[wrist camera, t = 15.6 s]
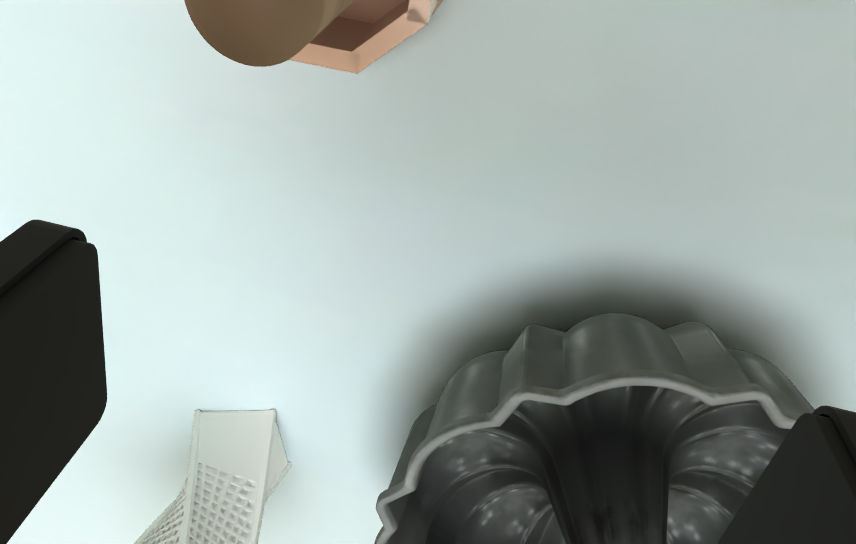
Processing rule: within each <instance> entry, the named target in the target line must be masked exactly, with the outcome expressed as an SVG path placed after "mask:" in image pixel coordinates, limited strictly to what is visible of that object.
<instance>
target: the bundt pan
mask: <svg viewBox="0 0 856 544" xmlns="http://www.w3.org/2000/svg"><path fill="white" fill-rule="evenodd" d="M814 411H815V409H814V408H813V407H812V406H811V405H810V404H809V402H808V401H807V400H806V399H805V398H804V397H803V395H802V394H801V393H800V392H799V391H798V389H797V388H796V387H795V386H794V385H793V384H792V382H791V381H790V380H789V379H788V378H787V377H786V376H785V375H784V374H783V373H782V372H781V371H780V370H779V369H777V368H776V367H775V366H774V365H772V364H771V363H769V362H767V361H766V360H764V359H762V358H761V357H759V356H756V355H754V354H751V353H748V352H745V351H742V350H736V349H729V348H726V347H725V346H724V344H723V343H722V341H721V340H720V338H719V337H718V336H717V334H716V333H715V332H714V331H713V330H712V329H711V328H710V327H708V326H707V325H705V324H703V323H700V322H693V321H689V322H685V323H681V324H678V325H675V326H672V327H669V328H666V329H663V330H662V329H661V328H660V327H658V326H656V325H655V324H653V323H651V322H649V321H647V320H645V319H643V318H640V317H637V316H633V315H629V314H623V313H607V314H601V315H596V316H592V317H589V318H587V319H585V320H583V321H581V322H579V323H577V324H576V325H574V326H573V327H572V328H570V329H569V330H568V331H567V332H562V331H558V330H555V329H551V328H547V327H544V326H540V325H536V324H530V325H528V326H526V327H525V329H524V330H523V332H522V333H521V334H520V336H519V337H518V339H517V340H516V341H515V343H514V344H513V346H512V347H511V348H510V350H509V351H506V350H503V351H493V352H489V353H484V354H482V355H480V356H477V357H475V358H473V359H471V360H470V361H468V362H467V363H465V364H464V365H463V366H462V367H460V368H459V369H458V370H457V371H456V372H455V373H454V374H453V376H452V377H451V378H450V380H449V381H448V383H447V384H446V386H445V388H444V389H443V392H442V394H441V396H440V399H439V402H438V404H435V405H433V406H431V407H430V408H428V409H427V410H425V411H424V412H423V413H422V414H421V415H420V416H419V417H418V418H417V420H416V421H415V422H414V424H413V426H412V428H411V430H410V433H409V436H408V439H407V441H406V444H405V446H404V449H403V452H402V454H401V457H400V459H399V462H398V465H397V467H396V470H395V472H394V475H393V478H392V480H391V483H390V486H389V488H388V489H387V490H385V491H383V492H382V493H381V494H380V495H379V497H378V499H377V504H376V511H377V513H378V515H379V517H380V519H381V521H382V523H383V527H382V529H381V530H380V532H379V533H378V535H377V537H376V540H375V544H718V542H719V540H720V538H721V537H722V535H723V534H724V532H725V531H726V529H727V527H728V526H729V524H730V523H731V521H732V520H733V518H734V517H735V515H736V513H737V512H738V510H739V509H740V507H741V506H742V504H743V503H744V501H745V499H746V498H747V496H748V495H749V493H750V492H751V490H752V489H753V487H754V486H755V484H756V482H757V481H758V479H759V478H760V476H761V475H762V473H763V472H764V470H765V468H766V467H767V465H768V464H769V462H770V461H771V459H772V458H773V456H774V455H775V453H776V451H777V450H778V448H779V447H780V445H781V444H782V442H783V441H784V439H785V437H786V436H787V434H788V433H789V431H790V430H791V428H792V427H793V425H794V424H795V422H796V420H797V419H798V418H799V417H800V416H801V415H803V414H804V413H811V414H812V413H813V412H814Z"/></svg>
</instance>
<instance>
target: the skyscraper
mask: <svg viewBox="0 0 856 544" xmlns="http://www.w3.org/2000/svg"><path fill="white" fill-rule="evenodd" d="M275 419H276V410H274V409H273V410H255V411H211V412H201V411H200V409H199V410H196V411H195V413H194V423H193V434H192V443H191V453H190V463H189V472H188V477H187V479H186V481H185V484H184V486H183V488H182V490H181V492H180V494H179V495H178V497H177V499H176V500H175V501H174V502H173V503H172V504H171V505H170V506H169V507H168V508H167V509H166V510H165V511H164V512H163V513H162V514H161V515H160V516H159V517H158V518H157V519H156V520H155V521H154V522H153V523H152V524H151V525H150V526H149V527H148V528H147V529H146V530H145V532H144V533H143V534H142V535H141V536H140V537H139V538H138V539H137V541H136V542H135V543H134V544H258V539H259V534H260V529H261V523H262V517H263V510H264V504H265V502H266V500H267V499H268V497H269V496H270V495H271V493H272V492H273V491H274V489H275V488H276V486H277V485H278V484H279V482H280V481H281V480H282V478H283V477H284V476H285V474H286V473H287V471H288V470H289V469H290V467H291V462H288V460H287V457H286V454H285V450H284V447H283V443H282V440H281V437H280V433H279V430H278V426H277V423H276V420H275Z"/></svg>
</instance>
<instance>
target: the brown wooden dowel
mask: <svg viewBox="0 0 856 544" xmlns="http://www.w3.org/2000/svg"><path fill="white" fill-rule="evenodd" d="M353 1H354V0H185V4H186V7H187V10H188V13H189V15H190V17H191V20H192V21H193V23H194V25H195V27H196V28H197V30H198V31H199V33H200V34H201V35H202V37H203V38H204V39H205V40H206V41H207V42H208V43H209V44H210V45H211V46H212V47H213V48H214V49H215V50H217V51H218V52H219V53H221V54H222V55H224V56H226V57H227V58H229V59H231V60H233V61H236V62H238V63H242V64H245V65H250V66H272V65H276V64H280V63H282V62H285V61H287V60H289V59H290V58H292V57H293V56H295V55H296V54H297V53H299V52H300V51H301V50H302V49H303V48H304V47H305V46H306V45H307V44H308V43H309V42H310V41H312V40H313V39H314V38H315V37H316V36H317V35H318V34H319V33H320V32H321V31H322V30H323V29H324V28H325V27H326V26H328V25H329V24H330V23H331V22H332V21H333V20H334V19H335V18H336V17H337V16H338V15H339V14H340V13H341V12H342V11H344V10H345V9H346V8H347V7H348V6H349V5H350V4H351V3H352V2H353Z"/></svg>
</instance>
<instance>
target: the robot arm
mask: <svg viewBox="0 0 856 544" xmlns="http://www.w3.org/2000/svg"><path fill="white" fill-rule="evenodd" d="M106 402H107V386H106V371H105V356H104V341H103V326H102V312H101V297H100V282H99V267H98V254H97V249H96V248H95V246H94V245H93V244H91V243H87V240H86V237H85V235H84V233H83V232H82V231H81V230H79V229H76V228H71V227H67V226H63V225H59V224H55V223H50V222H46V221H42V220H31V221H29V222H27V223H25V224H24V225H23V226H21V227H20V228H19V229H17V230H16V231H15V232H13V233H12V234H11V235H9V236H8V237H6V238H5V239H4V240H2V241H1V242H0V544H6V543H7V542H8V541H9V540H10V538H11V537H12V536H13V534H14V533H15V532H16V530H17V529H18V528H19V526H20V525H21V524H22V522H23V521H24V520H25V519H26V517H27V516H28V515H29V513H30V512H31V511H32V509H33V508H34V507H35V505H36V504H37V503H38V501H39V500H40V499H41V498H42V496H43V495H44V494H45V492H46V491H47V490H48V488H49V487H50V486H51V484H52V483H53V482H54V480H55V479H56V478H57V476H58V475H59V474H60V473H61V471H62V470H63V469H64V467H65V466H66V465H67V463H68V462H69V461H70V459H71V458H72V457H73V455H74V454H75V453H76V452H77V450H78V449H79V448H80V446H81V445H82V444H83V442H84V441H85V440H86V438H87V437H88V436H89V434H90V433H91V432H92V430H93V429H94V428H95V427H96V425H97V424H98V422H99V421H100V419H101V417H102V415H103V413H104V410H105V407H106ZM718 544H856V412H852V411H847V410H843V409H839V408H835V407H830V406H821V407H819V408H817V409H816V410H815V411H814V412H813V413H812V414H811V413H804V414H803V415H801V416H800V417H799V418H798V419H797V420H796V422H795V424H794V425H793V427H792V428H791V430H790V431H789V433H788V434H787V436H786V437H785V439H784V441H783V442H782V444H781V445H780V447H779V448H778V450H777V451H776V453H775V455H774V456H773V458H772V459H771V461H770V462H769V464H768V465H767V467H766V468H765V470H764V472H763V473H762V475H761V476H760V478H759V479H758V481H757V482H756V484H755V486H754V487H753V489H752V490H751V492H750V493H749V495H748V496H747V498H746V499H745V501H744V503H743V504H742V506H741V507H740V509H739V510H738V512H737V513H736V515H735V517H734V518H733V520H732V521H731V523H730V524H729V526H728V527H727V529H726V531H725V532H724V534H723V535H722V537H721V538H720V540H719V542H718Z"/></svg>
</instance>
